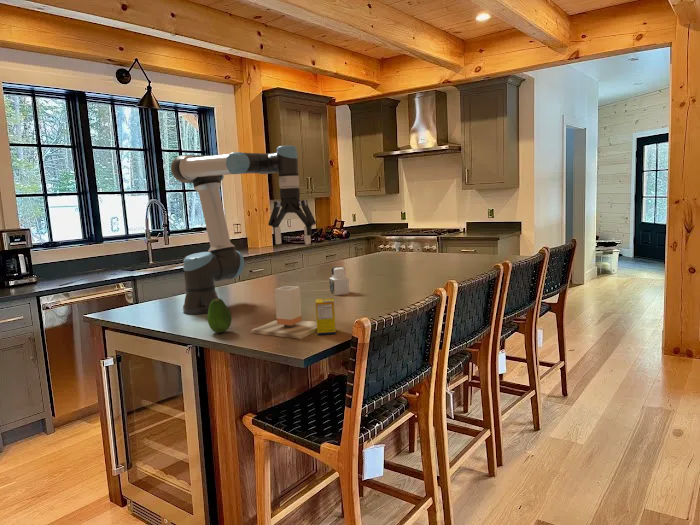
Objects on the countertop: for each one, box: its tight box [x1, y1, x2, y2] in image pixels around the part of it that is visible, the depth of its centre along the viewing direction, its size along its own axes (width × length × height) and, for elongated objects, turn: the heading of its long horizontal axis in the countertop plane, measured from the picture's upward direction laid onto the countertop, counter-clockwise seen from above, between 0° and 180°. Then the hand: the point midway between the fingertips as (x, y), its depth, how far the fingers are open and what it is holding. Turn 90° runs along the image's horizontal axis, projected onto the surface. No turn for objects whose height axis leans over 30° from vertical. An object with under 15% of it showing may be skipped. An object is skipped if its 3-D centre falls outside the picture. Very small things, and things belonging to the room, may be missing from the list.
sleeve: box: [274, 285, 302, 320], centre depth 177 cm, size 6×6×10 cm
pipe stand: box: [251, 319, 317, 340], centre depth 178 cm, size 20×16×12 cm
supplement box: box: [315, 297, 337, 336], centre depth 172 cm, size 6×6×11 cm
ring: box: [276, 316, 303, 326], centre depth 178 cm, size 6×6×2 cm
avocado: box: [206, 297, 232, 334], centre depth 178 cm, size 8×8×12 cm
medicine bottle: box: [329, 266, 350, 296], centre depth 237 cm, size 7×7×12 cm
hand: (293, 244), depth 200 cm, fingers open, 13 cm apart
